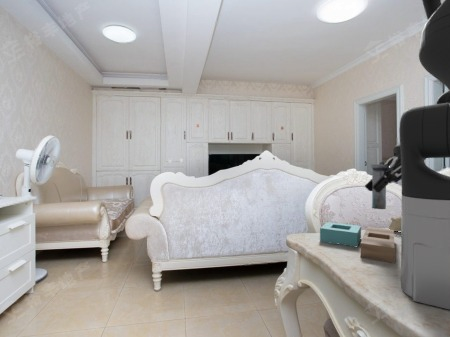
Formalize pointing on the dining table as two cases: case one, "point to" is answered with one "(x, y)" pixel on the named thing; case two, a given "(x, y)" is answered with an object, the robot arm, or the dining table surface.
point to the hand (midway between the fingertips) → (371, 189)
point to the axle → (380, 197)
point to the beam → (378, 244)
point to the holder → (340, 233)
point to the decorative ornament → (395, 224)
